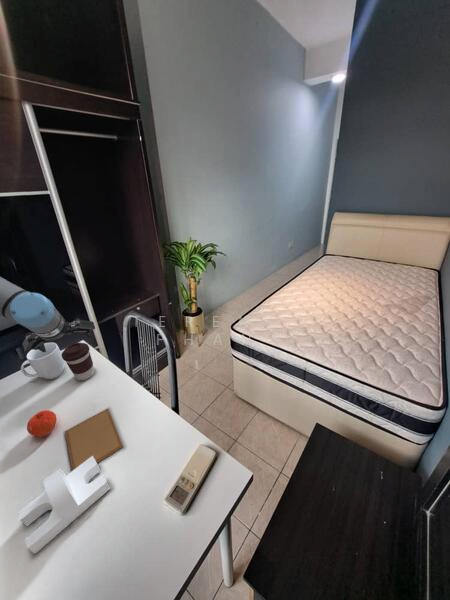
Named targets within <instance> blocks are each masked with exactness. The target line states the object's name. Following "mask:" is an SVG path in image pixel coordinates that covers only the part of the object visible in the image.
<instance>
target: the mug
mask: <svg viewBox="0 0 450 600" xmlns="http://www.w3.org/2000/svg"><path fill="white" fill-rule="evenodd" d="M43 344H44V346H45V349H46V352H42V351H40V350H34V349H33V350H32V349H30V350H29V351H28V352H27V354H26V360H25V361H23V363H22V364H21V366H20V371H21V373H22V375H24V377H27V378H37V377H41V378H43V379H46V380H54V379H56V378H58V377H60V376H61V375H62V374H63V373H64V369H65V361H64V360H63V358H62V356H61V355H62V352H61V350H60V347H59V345H58V344H57V343H56V342H44V343H43ZM26 365H30V366H31V368H32V369H33V370H34V372H35V373H29V372H27V371H26V370H25V366H26Z"/></svg>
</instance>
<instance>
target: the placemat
mask: <svg viewBox="0 0 450 600" xmlns="http://www.w3.org/2000/svg"><path fill="white" fill-rule="evenodd" d="M64 433H65V434H64V435H65V439H66V444H67V449H68V454H69V459H70V464H71V470H72V471H73V470H74V469H75V468H77V467H78V466H79V465H81V464H82V463H83V462H85V461H86V460H87V459H89V458H90V457H91V456H93V457H94V459H95V461H96V463H97V464H99V463H100V462H102V461H103V460H105V459H106V458H107V459H108V457H110V456H112V455H113V454H115V453H116V452H118V451H120V450H121V449H123V448H124V445H123V443H122V440H121V438H120V436H119V432H118V430H117V428H116V424H115V423H114V420H113V417H112V415H111V413H110V410H109V408H106V409H103V410H102V411H100V412H98V413H97V414H95V415H93V416H91V417H89V418H87V419H85V420H84V421H81V422H80V423H78V424H76V425H74V426H72V427H70V428H68V429H67V430H64Z"/></svg>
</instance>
